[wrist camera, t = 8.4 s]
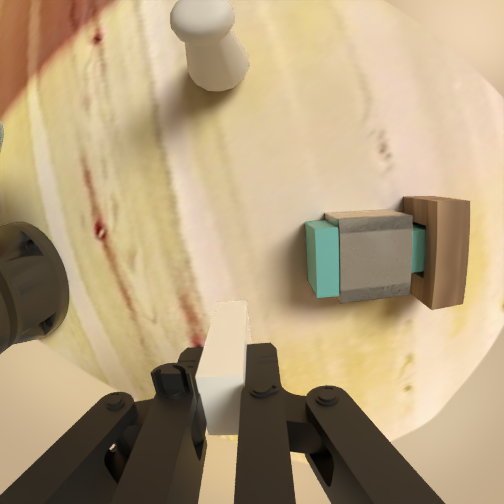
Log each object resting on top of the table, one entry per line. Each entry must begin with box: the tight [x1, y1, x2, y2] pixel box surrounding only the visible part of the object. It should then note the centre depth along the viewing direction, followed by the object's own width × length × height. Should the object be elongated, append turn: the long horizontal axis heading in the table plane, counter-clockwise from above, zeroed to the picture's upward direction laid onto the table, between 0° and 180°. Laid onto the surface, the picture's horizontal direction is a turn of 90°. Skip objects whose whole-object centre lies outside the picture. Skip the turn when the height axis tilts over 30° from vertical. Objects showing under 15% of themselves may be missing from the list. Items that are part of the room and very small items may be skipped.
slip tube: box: [305, 220, 426, 298], centre depth 28 cm, size 14×6×5 cm, turn 95°
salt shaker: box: [170, 0, 250, 92], centre depth 21 cm, size 6×6×13 cm
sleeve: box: [325, 210, 413, 304], centre depth 28 cm, size 7×7×6 cm
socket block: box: [403, 196, 470, 310], centre depth 28 cm, size 4×10×7 cm, turn 5°
